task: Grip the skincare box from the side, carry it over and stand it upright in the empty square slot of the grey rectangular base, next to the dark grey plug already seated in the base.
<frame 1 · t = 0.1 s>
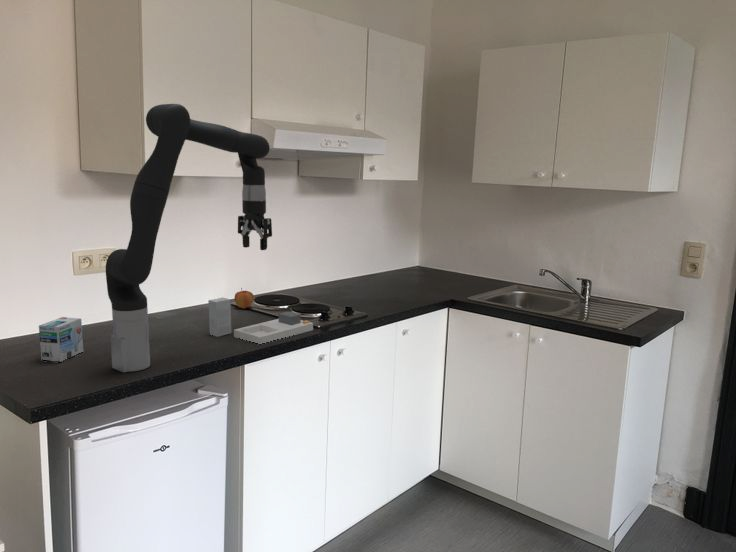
hand: (254, 248, 204), 29 cm above the worktop, tool pointing down, fingers open, 8 cm apart
grey rectangular base: (274, 333, 211), on the worktop
light bulb box: (63, 357, 183), on the worktop
skincare box: (220, 334, 209), on the worktop
apple: (244, 308, 245), on the worktop
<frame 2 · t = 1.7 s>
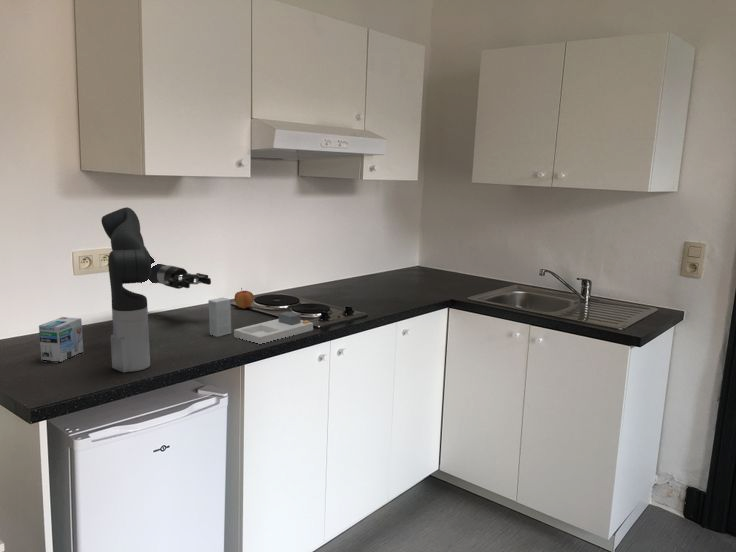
hand: (199, 283, 213), 16 cm above the worktop, tool horizontal, fingers open, 8 cm apart
nothing on the worktop moved.
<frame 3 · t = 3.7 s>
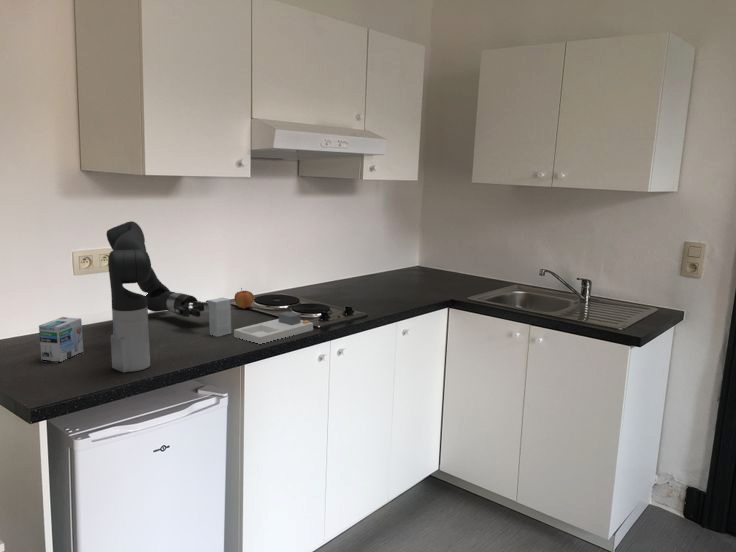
hand: (210, 311, 211), 7 cm above the worktop, tool horizontal, fingers open, 8 cm apart
nothing on the worktop moved.
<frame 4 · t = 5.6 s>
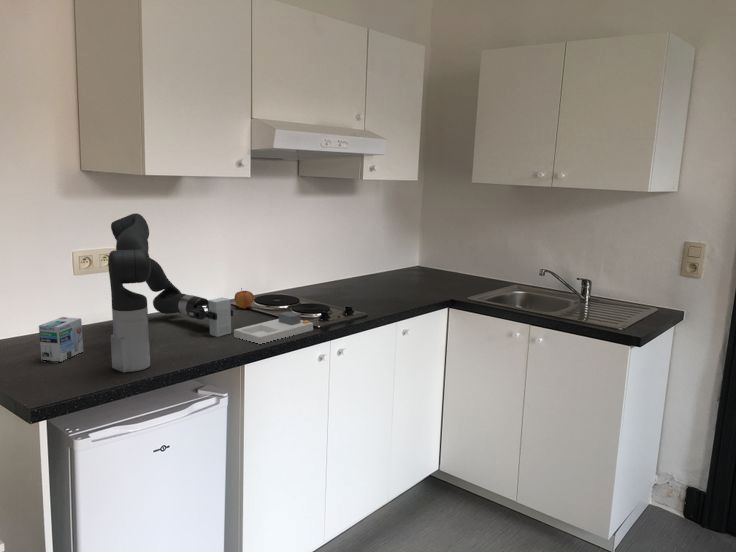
hand: (224, 315, 206), 7 cm above the worktop, tool horizontal, fingers closed on skincare box, 6 cm apart
skincare box: (220, 334, 209), on the worktop, touching gripper
everything else where it was.
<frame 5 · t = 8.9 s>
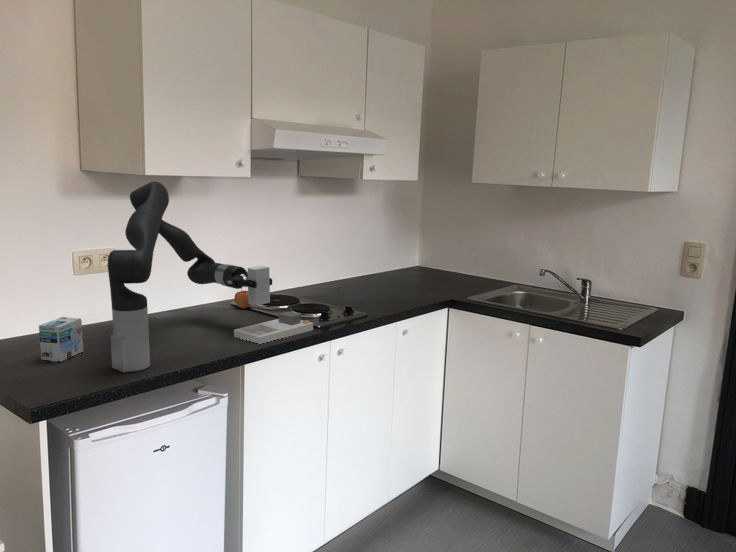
hand: (263, 283, 201), 19 cm above the worktop, tool horizontal, fingers closed on skincare box, 6 cm apart
skincare box: (258, 303, 204), point 11 cm above the worktop, touching gripper
everything else where it was.
when the fingers open (8 cm above the worktop, at t = 12.2 s): skincare box stays where it is, resting on grey rectangular base.
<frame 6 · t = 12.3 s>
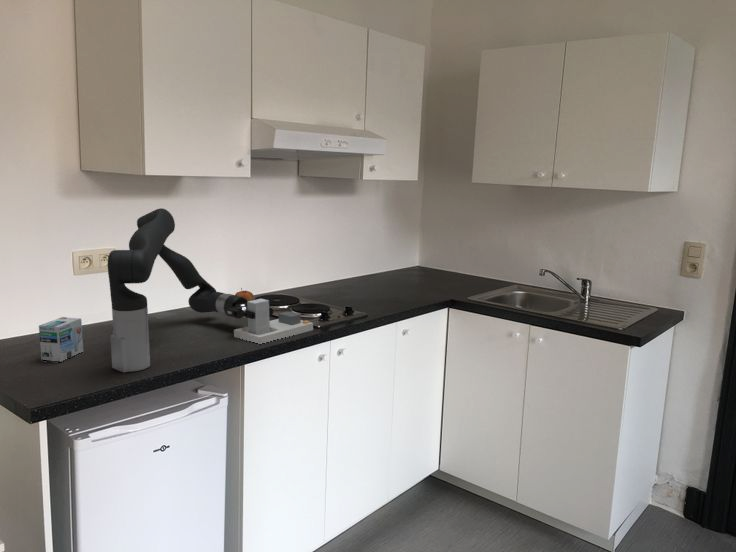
hand: (263, 313, 203), 8 cm above the worktop, tool horizontal, fingers open, 7 cm apart
skincare box: (258, 336, 206), resting on grey rectangular base
everything else where it was.
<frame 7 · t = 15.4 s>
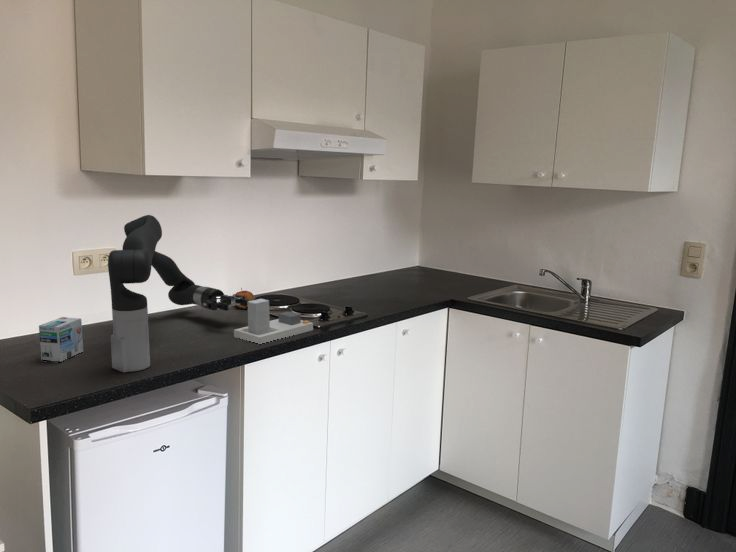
hand: (237, 305, 211), 9 cm above the worktop, tool horizontal, fingers open, 8 cm apart
nothing on the worktop moved.
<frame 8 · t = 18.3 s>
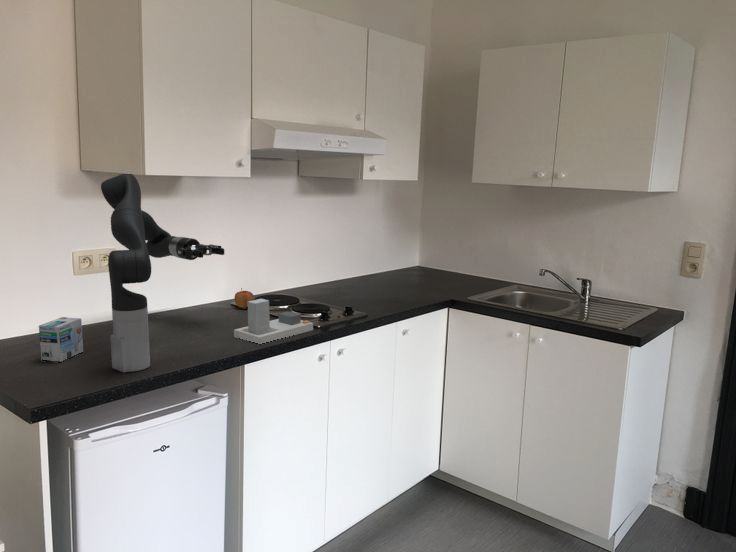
hand: (213, 253, 207), 27 cm above the worktop, tool horizontal, fingers open, 8 cm apart
nothing on the worktop moved.
at the end: skincare box 0.3 cm from the target spot on the grey rectangular base, point 0.3 cm above the grey rectangular base's base; skincare box tilted 0°; the gripper is holding nothing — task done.
